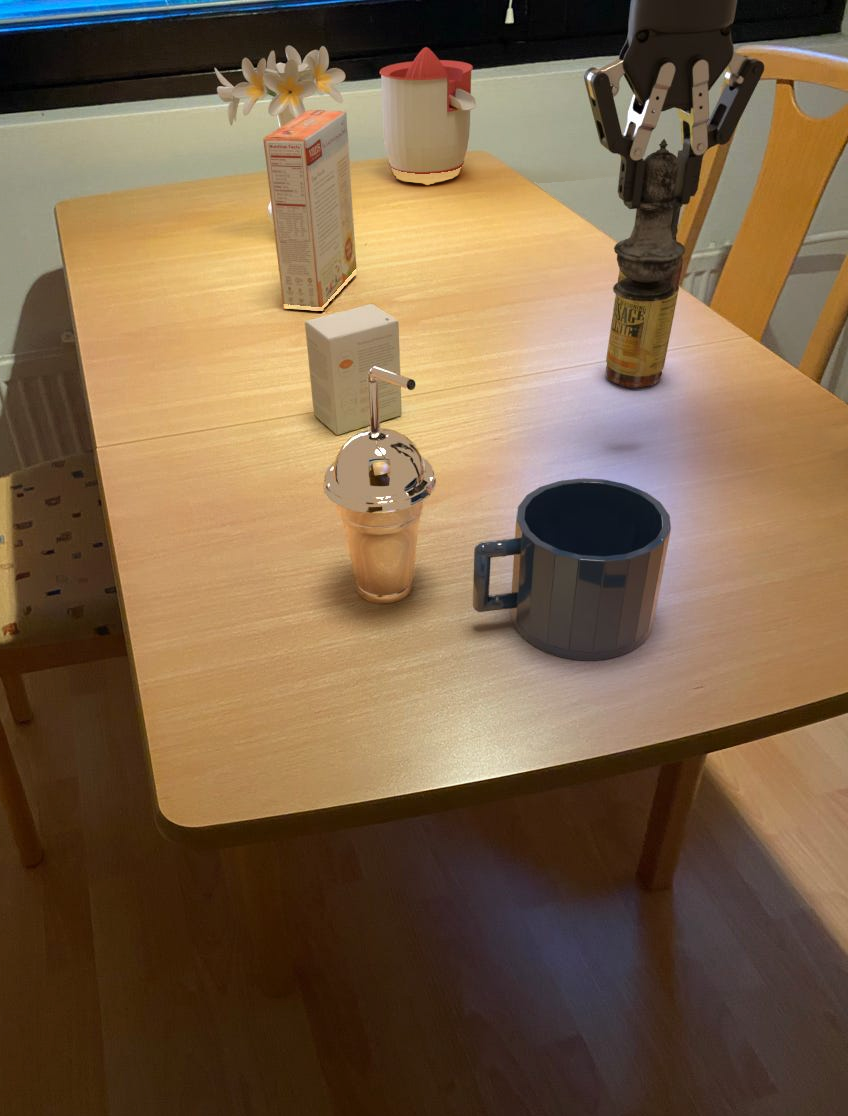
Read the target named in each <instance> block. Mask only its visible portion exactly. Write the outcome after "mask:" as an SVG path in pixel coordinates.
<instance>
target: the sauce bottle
mask: <svg viewBox="0 0 848 1116" xmlns="http://www.w3.org/2000/svg"><path fill="white" fill-rule="evenodd" d="M682 207H683V205H678V204H677V205H675V206H674V208H673V215H672V222H671V233H672V239H673V240H675V241H677V242H678V240H677V234H678V230H679V228H678V227H679V226H678V225H679V219H680V215H681V208H682ZM683 262H684V259H683V255H682V256H681V257H680V262H679V264H678V266H677V268H676V269H675V271H674V272H673V273H672V274H671V275H670V276H668V277H667V278H666V279H665V280H667V281H668V282H669V283H671V284H672V285H673V286H674V287H675V289H676V291H675V294H674V295H673V296H671V297H669V298H667V299H663V300H659V301H634V300H629V299H625V298H622V297H620V296H618V295H616V294H615V295H614V304H613V311H612V318H611V324H610V331H609V337H608V344H607V351H606V358H605V363H606V367H605V373H606V377H607V379H608V380H610V382H611V383H614V384H616V385H619V386H621V387H624V388H629V389H634V388H635V389H636V388H646V387H649V386H652V385H653V386H654V385H655V384H657V383H658V382H659V381H660V380H661V378H662V376H663V370H664V368H665V364H666V359H667V358H666V357H667V354H668V348H669V343H670V339H671V338H670V337H671V332H672V327H673V322H674V317H675V312H676V306H677V302H678V295H679V290H680V279H681V273H682V271H683ZM625 278H626V277H625V276H624V275H623V273H622V272H621V271H620V269H619V270H618V277H617V283H618V282H619V281H621V280H623V279H625Z"/></svg>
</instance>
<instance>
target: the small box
mask: <svg viewBox="0 0 848 1116" xmlns="http://www.w3.org/2000/svg"><path fill="white" fill-rule="evenodd" d="M399 323H400V322H399V320H398V319H396V318H395V317H393V316H392V315H390V314H389V313H388V312H385V311H384V310H383V309H381V308H380V307H378V306H377V305H375V304H374V303H368V304H365V305H361V306H358V307H354V308H349V309H345V310H342V311H339V312H335V313H331V314H327V315H323V316H319V317H315V318H311V319H308V320H305V321H304V329H305V341H306V349H307V358H308V370H309V381H310V388H311V391H310V392H311V399H312V400H311V401H312V408H313V410H312V411H313V416H315V418H317V419H318V420H319V421H320V422H322V423H323V425H325V427H327V428H328V429H329V430H330V431H332V433H333V434H334V435H336V436H339V435H342V434H345V433H348V432H353V431H356V430H358V429H362V428H365V427H368V426H370V411H369V392H368V373H369V370H370V369H371V368H372V367H375V366H376V367H379V368H382V369H385V370H388V371H390V372H393V373H396V374H399V375H401V357H400V355H401V352H400V327H399ZM378 398H379V420H380V423H381V422H385V421H388V420H391V419H394V418H398V417H401V416H402V413H403V411H402V409H403V408H402V407H403V406H402V387H401V386H398V385H395V384H393V383H390V382H387V381H385V380H382V379H380V378H378Z"/></svg>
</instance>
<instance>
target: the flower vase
mask: <svg viewBox="0 0 848 1116" xmlns="http://www.w3.org/2000/svg"><path fill="white" fill-rule="evenodd" d="M285 55H286V59H287V62H285V63H283V62H281V61H280V62H278V63H277V61H276V52H275V50H271V51H270V53H269V55H268V57H267V60H266V58H264V57H262V58H261V59H259V61H258V63H257V66H256V69H255V67H254V65H253V64H252V62H251V60H250V59H249V58H247V57H244V58H243V59H242V60H241V71H242V75H243V77H244V79H245V80H246V81H243V82H239V83H237V84H236V85H235V86H234V85H233V84H232V83H230V82H229V81H228V80H227V79H226V78H225V77H224V75H223V74H222V73H220V72H219V70H218V69H217V68H216V67H214V73H215V74H216V76H217V79H218V81H219V82H220V83H221V85H223V86H221V85H220V86H217V88H216V92H217V95H218V97H219V98H220V99H221V101H222V102H224V103H229V104H228V106H227V116H228V122H229V124H230V126H233V124H234V122H237V113H238V108H239V104H240V100H241V99H244V98H246V99H245V100H244V102H243V108H242V114H243V116H245V117H246V116H248V115H249V114H250V113H251V111H252V109H253V107H254V106H255V104H256V103H257V101H258V100H264V99H265V98H267V97H268V96H271V97H272V98H271V101H270V103H269V105H268V109H267V111H268V114H269V116H270V117H276V118H277V121H278V126H279V128H281V127H282V126H284V125H286V124H287V123H289V122H290V121H292V120H293V119H295V118H296V117H298V116H300V115H301V114H303V113H304V112H306V107H305V105H304V103H303V102H304V98H309V97H311V96H313V95H314V94H315V93H317V94H318V95H319V96H324V95H325V94H327V95H329V96H330V97H331V98H332V99H333V100H334V101H336V102H337V104H338V103H339V104H343V102H344V101H343V100H344V99H343V96H342V94H341V92H340V91H339V89H338V88H337V87H336V86H334V85H339V84H341V83H343V82H345V80H346V73H345V71H344V70H343V69H341V68H338V67H332V68H329V64H330V58H329V57H330V56H329V53H328V50H327V48H326V47H325V46H324V45H321V47H320V48H319V50H318V49H313V50H311V51H310V52H308V53H307V54H306V55H305V56H304V58H303V60H302V58H301V55H300V54H299V52H298V51H297V49H296V48H294V47H293V46H292V45H286V46H285ZM328 68H329V69H328ZM267 219H268V221H269V223H270V224H271V225H272V226H273V227H274V224H273V216H272V207H271V200H269V202H268V206H267Z"/></svg>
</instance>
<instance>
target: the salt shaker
mask: <svg viewBox="0 0 848 1116" xmlns="http://www.w3.org/2000/svg"><path fill="white" fill-rule="evenodd" d="M658 145H659V149H657V150H656V151H654V152H652V153H650V154H649V155H647V156H646V157H645V159H644V160H645V161H646V163H645V170H644V178H643V186H642V194H641V202H640V207H639V208H638V209H635V216H634V217H635V219H634V225H633V228H632V231H631V234H630V236H629V237H628V238H624V239H622V240H620V241H618V242H616V244H615V245H614V247H613V250H614V253H615V254H616V261H617V266H618V269H619V270H620V271H621V272H622V273H623V275H624V276H625V277H626V278H625V279H623V280H621V281H619V282H618V281H617V282H616V283H615V284H614V285H613V287H612V290H613V293H614V294H615V296H616V295H618V296H620V297H622V298H625V299H629V300H634V301H659V300H663V299H667V298H669V297H671V296H673V295H674V294H675V291H676V289H675V287H674V286H673V285H672V284H671V283H669V282H668V281H667V280H665V279H666V278H667V277H668V276H670V275H671V274H672V273H673V272H674V271H675V269H676V268H677V266H678V264H679V262H680V257H681V256H682V257H683V255H685V253H686V247H685V246H684V244H683V243H681V242H679V241H678V240H677V241H675V240H673V239H672V233H671V222H672V215H673V208H674V206H675V205H677V204H678V199H677V198H675V197H674V195H675V188H676V181H677V174H678V167H679V161H678V159H677V156H676V155H675V154H674V153H672V152H670V151H669V150H668V149H667V147H668V145H669V144H668V143H667V141H666V139H665V138H663V139H662V140H661V142H660V143H659V144H658Z"/></svg>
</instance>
